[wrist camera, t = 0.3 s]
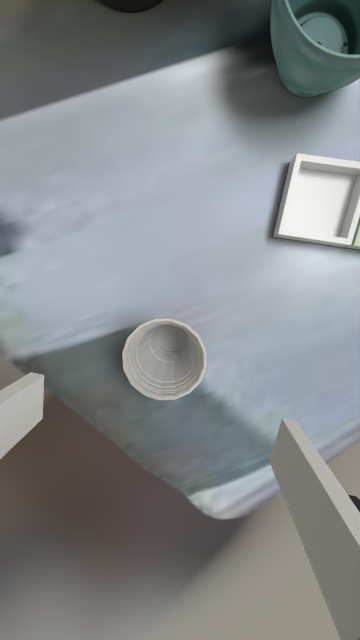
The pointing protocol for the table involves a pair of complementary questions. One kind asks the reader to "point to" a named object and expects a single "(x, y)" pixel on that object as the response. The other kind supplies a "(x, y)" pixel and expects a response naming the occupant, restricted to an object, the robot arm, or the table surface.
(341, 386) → the table surface
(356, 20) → the flower pot
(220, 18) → the table surface
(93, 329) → the table surface
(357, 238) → the box sage
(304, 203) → the box grey
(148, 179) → the table surface
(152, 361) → the plastic cup
